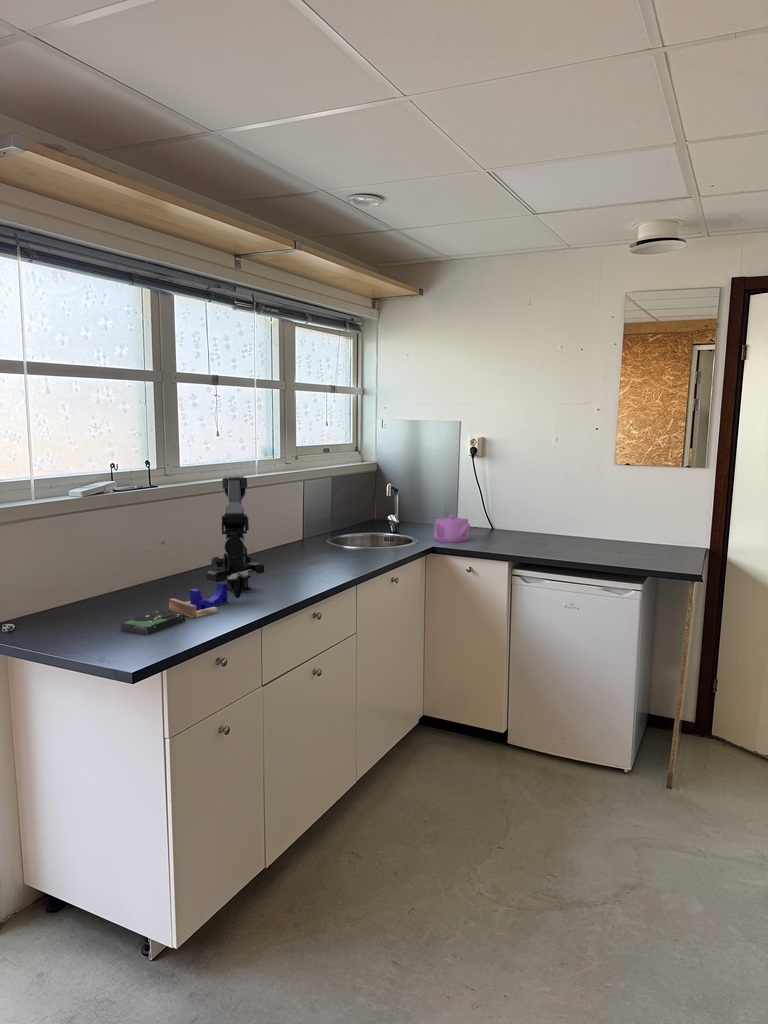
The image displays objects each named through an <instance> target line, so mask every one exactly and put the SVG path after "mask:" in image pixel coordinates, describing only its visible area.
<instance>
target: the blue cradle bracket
mask: <svg viewBox="0 0 768 1024" xmlns="http://www.w3.org/2000/svg"><path fill="white" fill-rule="evenodd" d="M216 583H217V584H216V589H215V592H214V593H213V595H212V596H211V597H210V598H208V599H204V598H203V597H202V595H201V590H200V589H197V588H196V589H195V588H191V589H189V599H190V600H189V601H190V604H193V605H196V611H197V610H202V609H206V608H211V607H217V606H218V605H217V604H219V605H222V604H221V603H223V604H226V603H228V589H227V583H225V582H216ZM225 602H226V603H225Z"/></svg>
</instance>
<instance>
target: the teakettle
mask: <svg viewBox="0 0 768 1024" xmlns="http://www.w3.org/2000/svg"><path fill="white" fill-rule="evenodd" d="M433 526H434V531H433V537H434V541H435V540H437V541H436V542H439V541H442V542H441V543H445V542H446V543H445V544H456V543H461V542H462V541H463V542H467V541H469V539H470V526H471V524H470V523H469V519H467V518H463V517H461V518H460V517H456V515H455V514H449V515H448V517H445V518H436V519H435V523H434V524H433ZM463 542H462V543H463Z"/></svg>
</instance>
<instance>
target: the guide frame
mask: <svg viewBox="0 0 768 1024" xmlns="http://www.w3.org/2000/svg"><path fill="white" fill-rule="evenodd" d="M168 609H169V612H176V613H182V614H185V617H187V616H188V617H187V618H190V619H194V618H195V617H196V618H199V616H200V617H204V616H207V614H208V615H211V613H213V614H216V613H215V612H217V613H218V607H217V606H216V607H211V608H206V609H202V610H198V611H197V610H196V605H193V604H190V600H189V601H183V600H179V599H177V598H169V599H168ZM203 615H204V616H203Z"/></svg>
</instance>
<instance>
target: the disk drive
mask: <svg viewBox="0 0 768 1024" xmlns="http://www.w3.org/2000/svg"><path fill="white" fill-rule="evenodd" d="M183 621H184V622H186V616H185V614H182V613H176V612H173V611H168V612H166V610H162V609H159V610H155V611H151V612H149V613H145V614H143V615H140V616H136V617H133V618H131V619H127V620H123V621H122V622H120V630H121V631H125V632H129V633H135V634H142V635H151V634H153V633H156V632H159V631H162V630H164V629H167V628H171V627H173V626H176V625H178V623H179V624H182V623H184V622H183ZM175 624H176V625H175ZM172 625H173V626H172Z"/></svg>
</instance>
